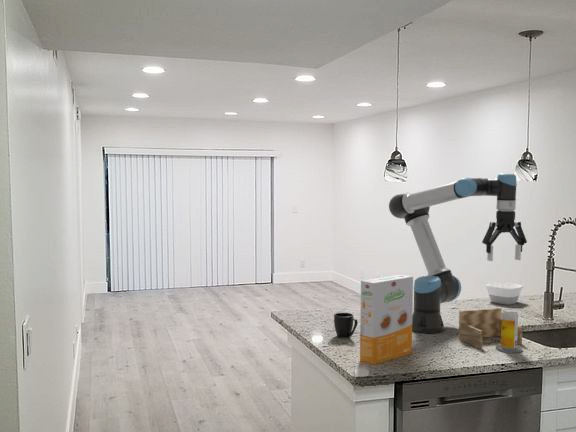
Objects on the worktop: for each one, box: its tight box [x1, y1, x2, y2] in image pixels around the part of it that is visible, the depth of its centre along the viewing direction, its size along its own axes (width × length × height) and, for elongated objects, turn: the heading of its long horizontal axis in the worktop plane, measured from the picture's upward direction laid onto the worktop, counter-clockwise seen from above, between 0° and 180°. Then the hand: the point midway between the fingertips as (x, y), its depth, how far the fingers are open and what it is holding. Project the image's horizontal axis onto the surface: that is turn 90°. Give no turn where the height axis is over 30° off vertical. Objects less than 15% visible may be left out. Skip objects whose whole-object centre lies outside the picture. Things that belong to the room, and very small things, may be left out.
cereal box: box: [359, 274, 414, 365], centre depth 221 cm, size 22×6×30 cm, turn 129°
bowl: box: [485, 281, 524, 305], centre depth 321 cm, size 18×18×9 cm
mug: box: [333, 312, 359, 339], centre depth 248 cm, size 8×12×10 cm
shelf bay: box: [458, 307, 523, 349], centre depth 243 cm, size 20×14×12 cm
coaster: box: [495, 344, 523, 354], centre depth 231 cm, size 10×10×1 cm
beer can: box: [500, 308, 519, 350], centre depth 231 cm, size 6×6×15 cm
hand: (503, 260), depth 248 cm, fingers open, 13 cm apart
